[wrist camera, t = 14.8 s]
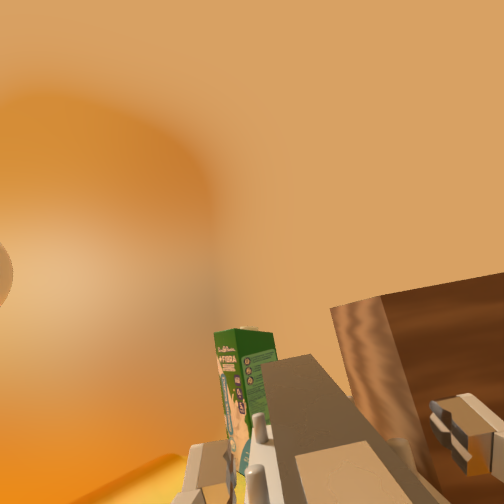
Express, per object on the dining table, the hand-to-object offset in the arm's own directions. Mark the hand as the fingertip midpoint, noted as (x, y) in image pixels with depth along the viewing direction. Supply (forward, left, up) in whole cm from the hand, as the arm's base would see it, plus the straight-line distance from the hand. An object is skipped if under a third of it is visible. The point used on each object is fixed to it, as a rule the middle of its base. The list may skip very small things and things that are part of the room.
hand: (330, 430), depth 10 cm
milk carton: (+30, +34, -20) cm, 50 cm away
